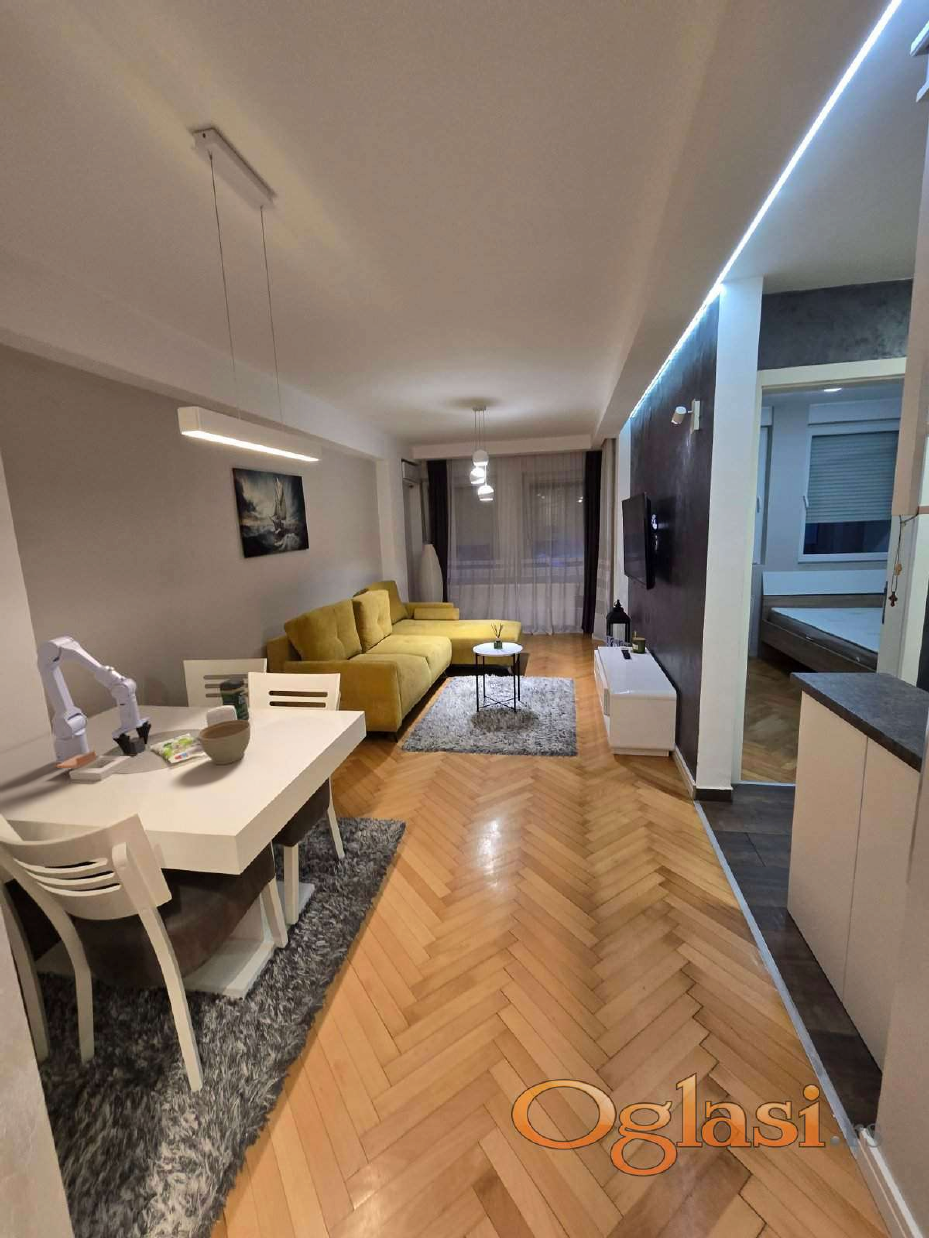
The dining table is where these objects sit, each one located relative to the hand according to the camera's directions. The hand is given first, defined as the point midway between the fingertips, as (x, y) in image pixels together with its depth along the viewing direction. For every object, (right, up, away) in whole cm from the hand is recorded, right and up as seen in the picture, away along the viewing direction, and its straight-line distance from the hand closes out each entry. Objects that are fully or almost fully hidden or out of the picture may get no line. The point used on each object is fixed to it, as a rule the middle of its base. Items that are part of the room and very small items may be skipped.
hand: (135, 748), depth 181 cm
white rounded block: (+28, +2, +9) cm, 30 cm away
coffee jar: (+26, +4, +24) cm, 36 cm away
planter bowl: (+39, -1, -10) cm, 40 cm away
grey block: (0, -1, 0) cm, 2 cm away
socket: (-3, -4, -13) cm, 14 cm away
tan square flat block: (-12, -1, -12) cm, 17 cm away
